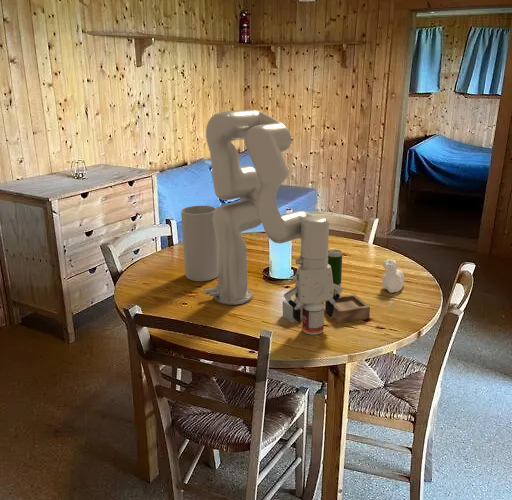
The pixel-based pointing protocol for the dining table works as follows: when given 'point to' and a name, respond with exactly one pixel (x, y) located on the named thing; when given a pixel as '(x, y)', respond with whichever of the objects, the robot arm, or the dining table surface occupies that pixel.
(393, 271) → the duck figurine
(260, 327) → the dining table surface
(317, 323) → the pill bottle
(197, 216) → the cylinder vase
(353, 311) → the brown square tray
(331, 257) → the beer can
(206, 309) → the dining table surface
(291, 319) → the grey cube
